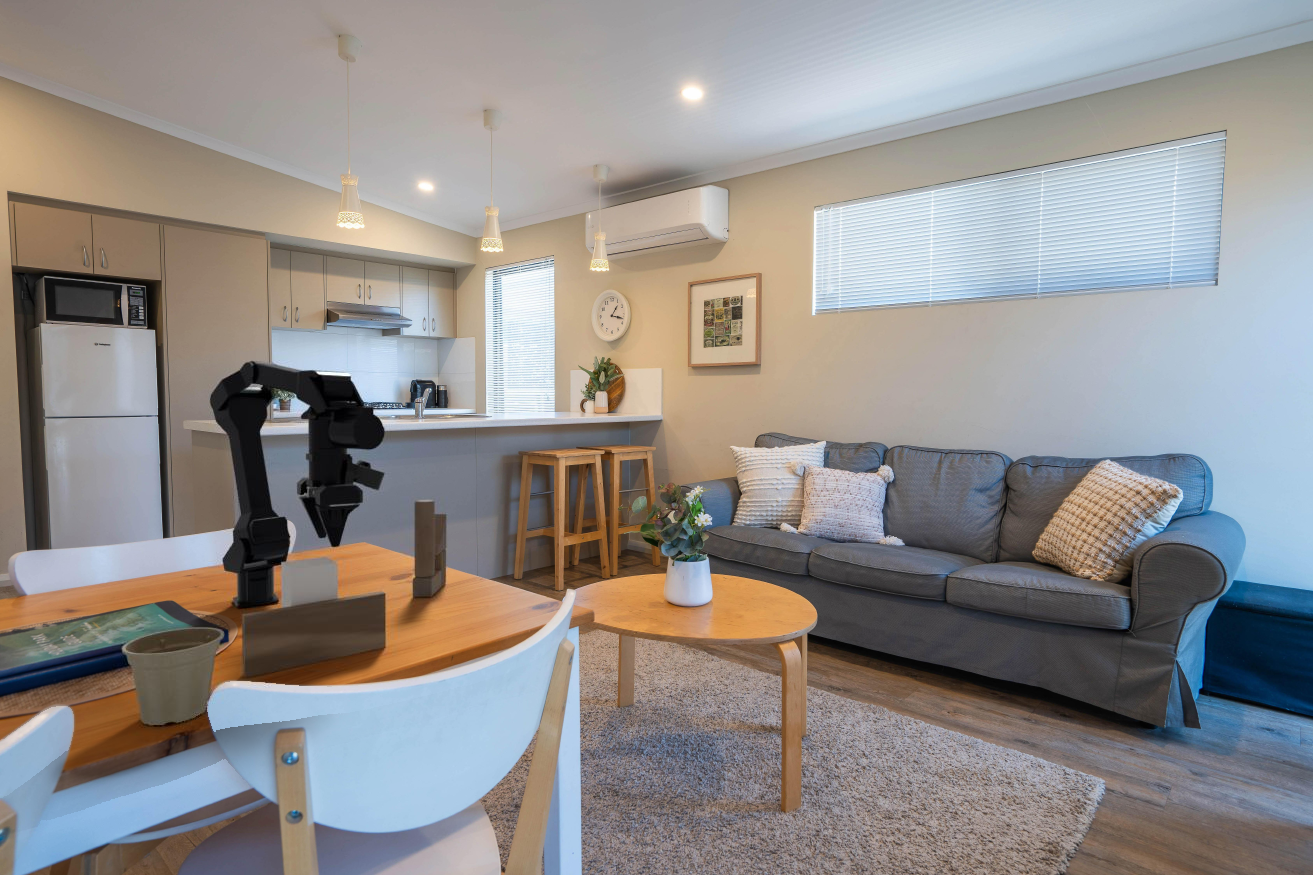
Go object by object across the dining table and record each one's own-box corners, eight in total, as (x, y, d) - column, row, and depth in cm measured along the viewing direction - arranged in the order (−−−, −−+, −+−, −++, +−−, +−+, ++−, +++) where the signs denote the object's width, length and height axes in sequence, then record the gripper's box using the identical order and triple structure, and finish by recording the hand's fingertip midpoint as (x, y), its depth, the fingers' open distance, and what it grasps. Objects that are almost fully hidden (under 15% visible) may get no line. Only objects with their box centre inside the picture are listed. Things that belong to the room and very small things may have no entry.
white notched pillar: (280, 650, 98) (279, 561, 97) (325, 641, 102) (324, 555, 101) (291, 662, 93) (290, 569, 93) (338, 653, 97) (337, 563, 96)
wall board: (240, 671, 90) (239, 612, 89) (378, 641, 102) (378, 589, 101) (245, 677, 88) (244, 616, 87) (385, 646, 100) (385, 593, 99)
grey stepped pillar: (446, 583, 137) (446, 494, 136) (431, 597, 126) (431, 501, 125) (428, 583, 137) (428, 494, 136) (411, 597, 126) (411, 501, 125)
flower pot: (158, 697, 81) (157, 626, 81) (240, 695, 82) (240, 625, 82) (101, 735, 72) (100, 655, 72) (194, 732, 73) (193, 653, 72)
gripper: (396, 449, 108) (396, 545, 109) (364, 444, 123) (364, 529, 124) (320, 451, 102) (321, 554, 102) (295, 445, 116) (296, 535, 117)
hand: (328, 542), depth 111 cm, fingers open, 9 cm apart
